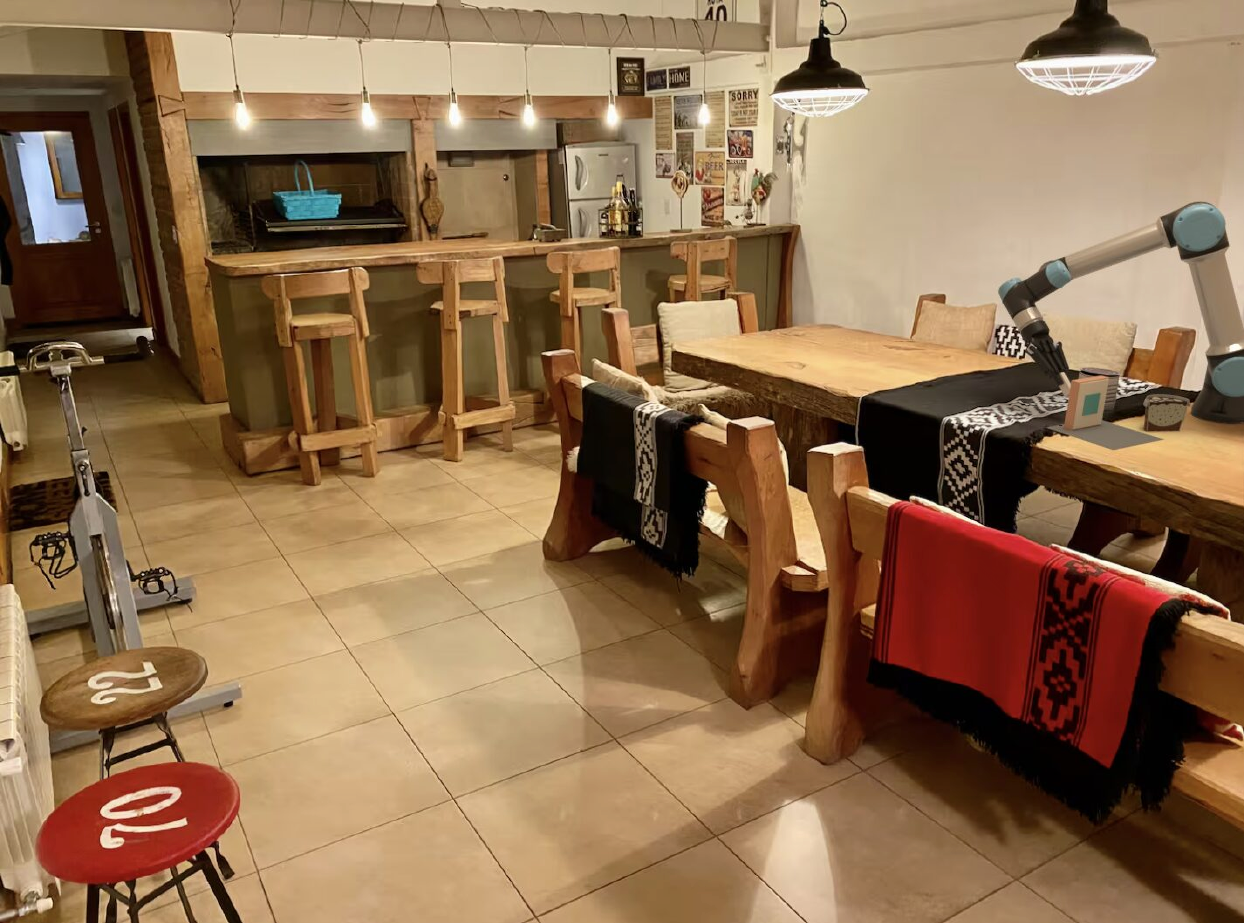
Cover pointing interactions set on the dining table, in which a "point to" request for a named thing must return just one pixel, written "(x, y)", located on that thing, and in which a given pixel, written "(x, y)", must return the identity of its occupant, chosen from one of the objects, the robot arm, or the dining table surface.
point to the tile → (1086, 402)
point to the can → (1112, 383)
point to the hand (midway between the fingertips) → (1069, 393)
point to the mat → (1108, 435)
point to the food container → (1164, 412)
